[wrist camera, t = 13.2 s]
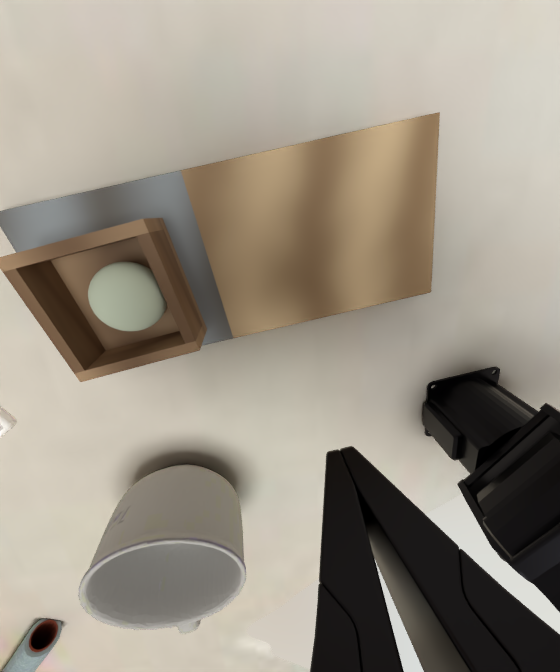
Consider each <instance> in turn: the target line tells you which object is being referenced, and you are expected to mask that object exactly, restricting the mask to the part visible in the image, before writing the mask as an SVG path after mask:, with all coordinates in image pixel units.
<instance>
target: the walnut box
mask: <svg viewBox="0 0 560 672" xmlns="http://www.w3.org/2000/svg"><path fill="white" fill-rule="evenodd" d="M116 262H133V263H138V264H141V265H143V266H146V267H147V268H149V269H151V270H152V271H153V274H154V276H155V278H156V280H157V283H158V285H159V287H160V289H161V291H162V294H163V296H164V298H165V300H166V302H167V307H166V310H165V312H164V314H163V315H162V317H161V318H160V319H159V320H158V321H157V322H156V323H155V324H154V325H152V326H150V327H148V328H146V329H143V330H139V331H122V330H118V329H115V328H112V327H110V326H108V325H107V324H105V323H104V322H102V321H101V320H100V319H99V318H98V317H97V316H96V315H95V313H94V312H93V310H92V308H91V306H90V303H89V299H88V289H89V285H90V282H91V280H92V278H93V277H94V275H95V274H96V273H97V272H98V271H99V270H100V269H102V268H103V267H105V266H107V265H109V264H112V263H116ZM0 269H1V270H2V271H3V273H4V274H5V276H6V277H7V279H8V280H9V281H10V283H11V284H12V286H13V287H14V288H15V290H16V291H17V293H18V294H19V296H20V297H21V298H22V300H23V301H24V303H25V304H26V306H27V307H28V308H29V310H30V311H31V313H32V314H33V315H34V317H35V318H36V320H37V321H38V323H39V324H40V325H41V327H42V328H43V330H44V331H45V332H46V334H47V335H48V337H49V338H50V340H51V341H52V342H53V344H54V345H55V347H56V348H57V350H58V351H59V352H60V354H61V355H62V357H63V358H64V359H65V361H66V362H67V364H68V365H69V367H70V368H71V369H72V371H73V372H74V374H75V375H76V377H77V378H78V379H79V381H80V382H83V381H87V380H90V379H94V378H98V377H102V376H105V375H109V374H113V373H116V372H120V371H124V370H128V369H131V368H135V367H139V366H143V365H146V364H150V363H154V362H158V361H161V360H165V359H169V358H172V357H176V356H180V355H184V354H187V353H191V352H195V351H199V350H200V348H201V345H202V342H203V340H204V337H205V334H206V331H207V328H206V325H205V323H204V320H203V318H202V315H201V313H200V310H199V308H198V305H197V303H196V300H195V298H194V295H193V293H192V290H191V288H190V285H189V283H188V280H187V278H186V275H185V273H184V270H183V268H182V265H181V263H180V260H179V258H178V255H177V253H176V250H175V248H174V245H173V243H172V240H171V238H170V235H169V233H168V230H167V228H166V225H165V223H164V220H163V218H146V219H140V220H136V221H132V222H129V223H125V224H121V225H118V226H114V227H110V228H106V229H103V230H99V231H95V232H92V233H88V234H84V235H81V236H77V237H73V238H70V239H66V240H62V241H58V242H55V243H51V244H47V245H44V246H40V247H36V248H33V249H29V250H25V251H21V252H18V253H14V254H10V255H7V256H3V257H0Z"/></svg>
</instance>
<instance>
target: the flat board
mask: <svg viewBox="0 0 560 672" xmlns="http://www.w3.org/2000/svg"><path fill="white" fill-rule="evenodd" d="M439 115H440V112H439V113H434V114H430V115H425V116H421V117H416V118H412V119H408V120H403V121H399V122H394V123H390V124H385V125H381V126H376V127H372V128H367V129H363V130H359V131H354V132H350V133H345V134H341V135H336V136H332V137H327V138H323V139H319V140H314V141H310V142H305V143H301V144H296V145H292V146H287V147H283V148H279V149H274V150H270V151H265V152H261V153H256V154H252V155H247V156H243V157H238V158H234V159H230V160H225V161H221V162H216V163H212V164H207V165H203V166H198V167H194V168H190V169H185V170H181V171H176V172H172V173H167V174H163V175H158V176H154V177H150V178H145V179H141V180H136V181H132V182H127V183H123V184H118V185H114V186H110V187H105V188H101V189H96V190H92V191H87V192H83V193H78V194H74V195H69V196H65V197H61V198H56V199H52V200H47V201H43V202H38V203H34V204H29V205H25V206H21V207H16V208H12V209H7V210H3V211H0V227H1V228H2V230H3V232H4V233H5V235H6V236H7V238H8V240H9V241H10V243H11V244H12V246H13V248H14V249H15V251H16V253H18V252H21V251H25V250H29V249H33V248H36V247H40V246H44V245H47V244H51V243H55V242H58V241H62V240H66V239H70V238H73V237H77V236H81V235H84V234H88V233H92V232H95V231H99V230H103V229H106V228H110V227H114V226H118V225H121V224H125V223H129V222H132V221H136V220H140V219H146V218H163V220H164V223H165V225H166V228H167V230H168V233H169V235H170V238H171V240H172V243H173V245H174V248H175V250H176V253H177V255H178V258H179V260H180V263H181V265H182V268H183V270H184V273H185V275H186V278H187V280H188V283H189V285H190V288H191V290H192V293H193V295H194V298H195V300H196V303H197V305H198V308H199V310H200V313H201V315H202V318H203V320H204V323H205V325H206V328H207V331H206V334H205V337H204V340H203V342H202V345H206V344H210V343H215V342H219V341H223V340H228V339H232V338H236V337H241V336H245V335H249V334H253V333H258V332H262V331H266V330H271V329H275V328H279V327H284V326H288V325H292V324H296V323H301V322H305V321H309V320H314V319H318V318H322V317H326V316H331V315H335V314H339V313H344V312H348V311H352V310H357V309H361V308H365V307H369V306H374V305H378V304H382V303H387V302H391V301H395V300H399V299H404V298H408V297H412V296H417V295H421V294H425V293H430V292H431V281H432V260H433V239H434V219H435V198H436V177H437V156H438V136H439ZM202 345H201V346H202Z"/></svg>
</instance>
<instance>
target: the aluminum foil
mask: <svg viewBox="0 0 560 672" xmlns="http://www.w3.org/2000/svg"><path fill="white" fill-rule="evenodd" d="M61 630H62V628H61V622H60V621H58V620H51V619H41V620H39V621H38V622H37V623H36V624H35V625H33V627H32V628H31V629H30V631H29V632H28V634H27V635H26V637H25V638H24V640H23V641H22V643H21V644H20V646H19V647H18V649H17V650H16V652H15V653H14V655H13V656H12V657H11V659H10V660H9V662H8V663H7V665H6V666H5V668H4V669H3V671H2V672H35V670H36V669H37V668H38V666H39V665H40V664H41V662H42V661H43V660H44V658H45V657H46V656H47V655H48V653H49V652H50V651H51V649H52V648H53V647H54V645H55V644H56V642H57V640H58V639H59V637H60V633H61Z"/></svg>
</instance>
